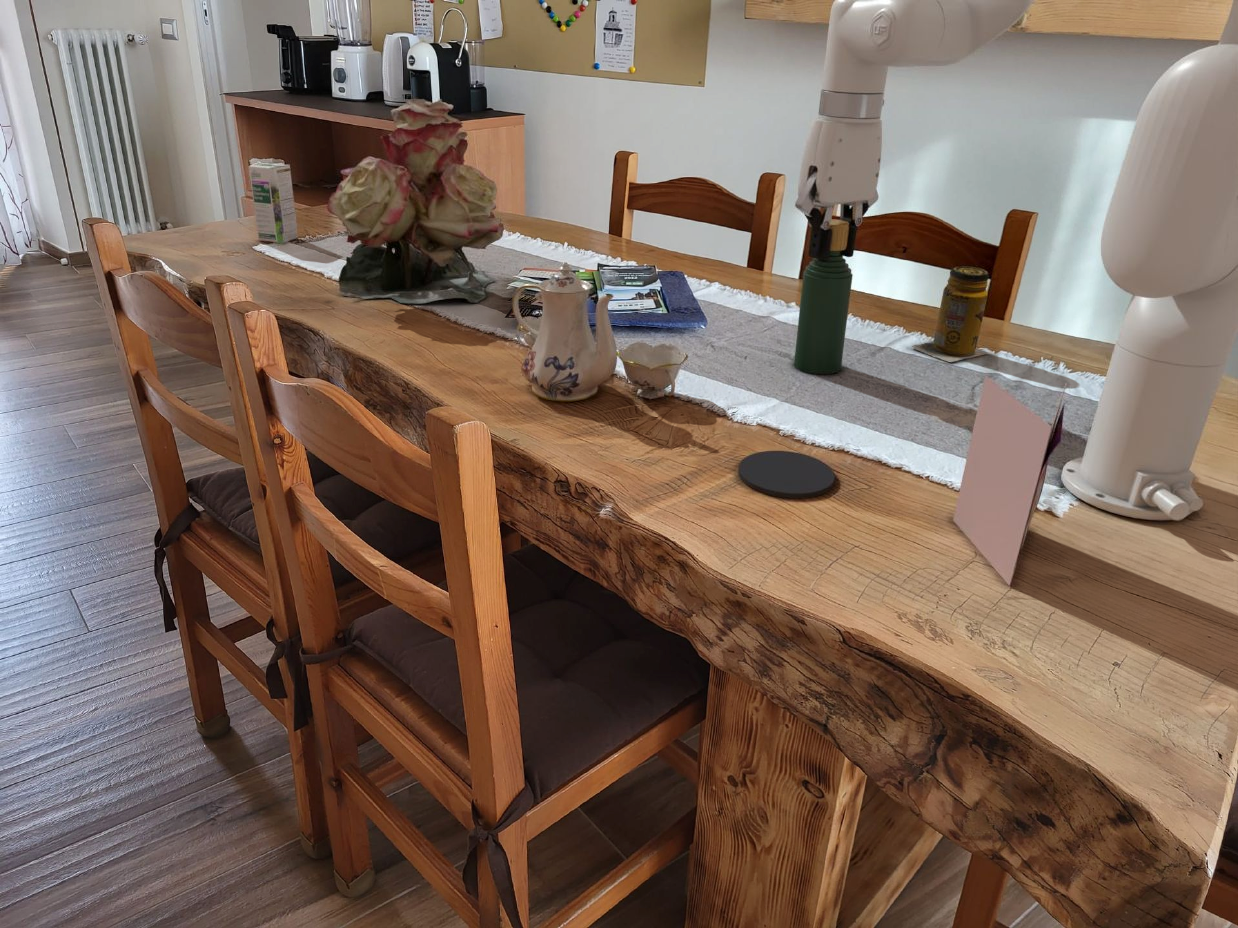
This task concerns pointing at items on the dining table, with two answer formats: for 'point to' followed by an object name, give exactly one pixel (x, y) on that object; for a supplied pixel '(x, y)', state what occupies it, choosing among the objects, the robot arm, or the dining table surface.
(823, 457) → the dining table surface
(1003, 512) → the greeting card
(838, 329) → the bottle
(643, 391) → the chinaware
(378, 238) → the rose bouquet
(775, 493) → the coaster
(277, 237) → the syrup box
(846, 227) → the cap
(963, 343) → the condiment
